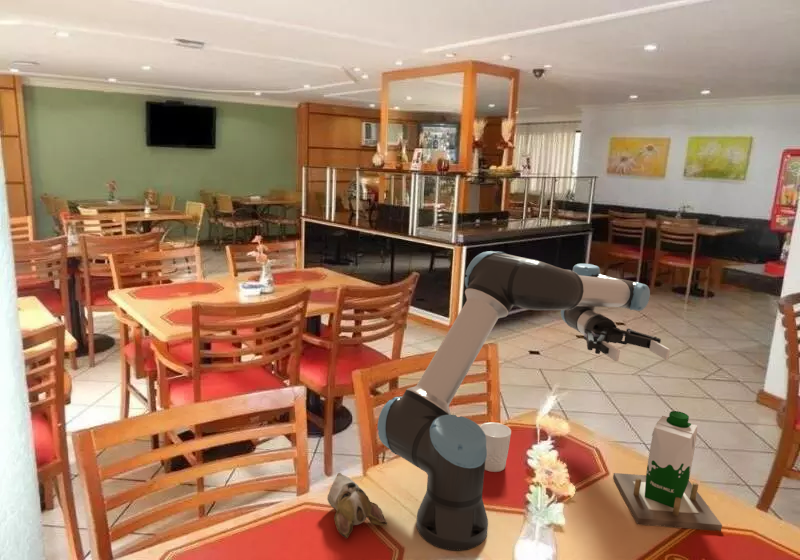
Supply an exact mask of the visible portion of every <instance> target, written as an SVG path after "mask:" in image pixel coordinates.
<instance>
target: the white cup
mask: <svg viewBox="0 0 800 560" xmlns="http://www.w3.org/2000/svg"><path fill="white" fill-rule="evenodd" d="M479 426H480V427H481V428H482V430H483V431H484V433H485V436H486V449H487V457H486V461H485V471H488V472H494V473H497V472H501V471H503V470H505V468H506V465H507V458H508V455H509V450H510V443H511V435H512V429H511V428H510V427H509V426H508V425H505V424H503V423H499V422H491V421H490V422H484V423H482V424H481V425H479Z"/></svg>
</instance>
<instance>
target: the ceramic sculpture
mask: <svg viewBox="0 0 800 560" xmlns="http://www.w3.org/2000/svg"><path fill="white" fill-rule="evenodd" d="M336 474H337V475H336V476H335V479H334V480H333V482H332V485H331V487H330V489H329V492H328V494H327V501H328V505H330V506H331V507H332V508H333V509H335V510H336V512H335V513H334V519H333V521H334V523H335V526H336V530H337V531H338V533H339V534H340V535H341V536H342V537H343V538H345V539H348V538H349V537H350V534H351V533H352V531H354V526H359V525H361V524H362V523H365V521H366V519H368V520H369V522H370V523H371V524H372V525H374V526H375V525H376V526H387V525H388V522H387V520H386V518H385V515H384V514H383V510H382V509H381V508H380V507H379V505H378V504H377V503H376V502H372V501H371V500H370V499H369V496H368V495H367V494H366V492H365V491H364V489H362V488H361V487H360V486H359V484H358V483H356V482H355V481H354V480H352V479H351V478H350V477H348V476H346V475H344V474H342V473H341V472H338V473H336Z"/></svg>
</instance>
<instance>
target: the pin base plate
mask: <svg viewBox="0 0 800 560" xmlns="http://www.w3.org/2000/svg"><path fill="white" fill-rule="evenodd" d="M612 480H613V481H614V483H615V485H616V487H617V489H618V490H619V492H620V495H621V496H622V499H623V501H624V502H625V504H626V506H627V507H628V510H629V511H630V513H631V516H632V517H633V519H634V520H635V523H636V525H641V526H653V527H665V528H678V529H692V530H703V531H704V530H705V531H715V530H719V531H718V532H722V528H723V524H722V523H721V521H720V520H719V518H718V517H717V516H716V515H715V513H714V512H713V511H712V509H711V508H710V507H709V505H708V504H707V503H706V501H705V499H704V498H703V497H702V496H701V495H700V494H699V491H698V489H699V484H698V483H697V482H691V481H690V480H689V482H688V485H687V487H686V489H685V492H684V494H683V497H682V499H681V498H679V497H676V498H675V503H674V508H672V507H670V506H667V505H664V504H662V503H659V502H656V501H654V500H651V499H648V498H646V497H645V485H646V474H645V475H644V474H635V473H634V474H631V473H618V472H613V476H612Z"/></svg>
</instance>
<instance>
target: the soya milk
mask: <svg viewBox="0 0 800 560" xmlns="http://www.w3.org/2000/svg"><path fill="white" fill-rule="evenodd" d="M689 418H690V417H689V415H688V414H687V413H684V412H682V411H677V410H672V411H669V415H668V416H666V415H661V417H660V418H659V420H658V421H657V422H656V424H655V426H654V428H653V431H652V434H651V437H652V438H651V441H650V447H649V452H648V459H647V467H646V472H645V475H646V485H645V497H646V498H648V499H651V500H654V501H656V502H659V503H662V504H664V505H667V506H670V507H672V508H674V503H675V498H676V497H679V498H681V499H682V497H683V494H684V492H685V489H686V487H687V485H688V482H689V481H690V475H691V470H692V466H693V465H692V464H693V460H694V455H695V449H696V442H697V435H698V434H697V433H698V425H697V424H692V423H690V422H689V421H690V420H689Z"/></svg>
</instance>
